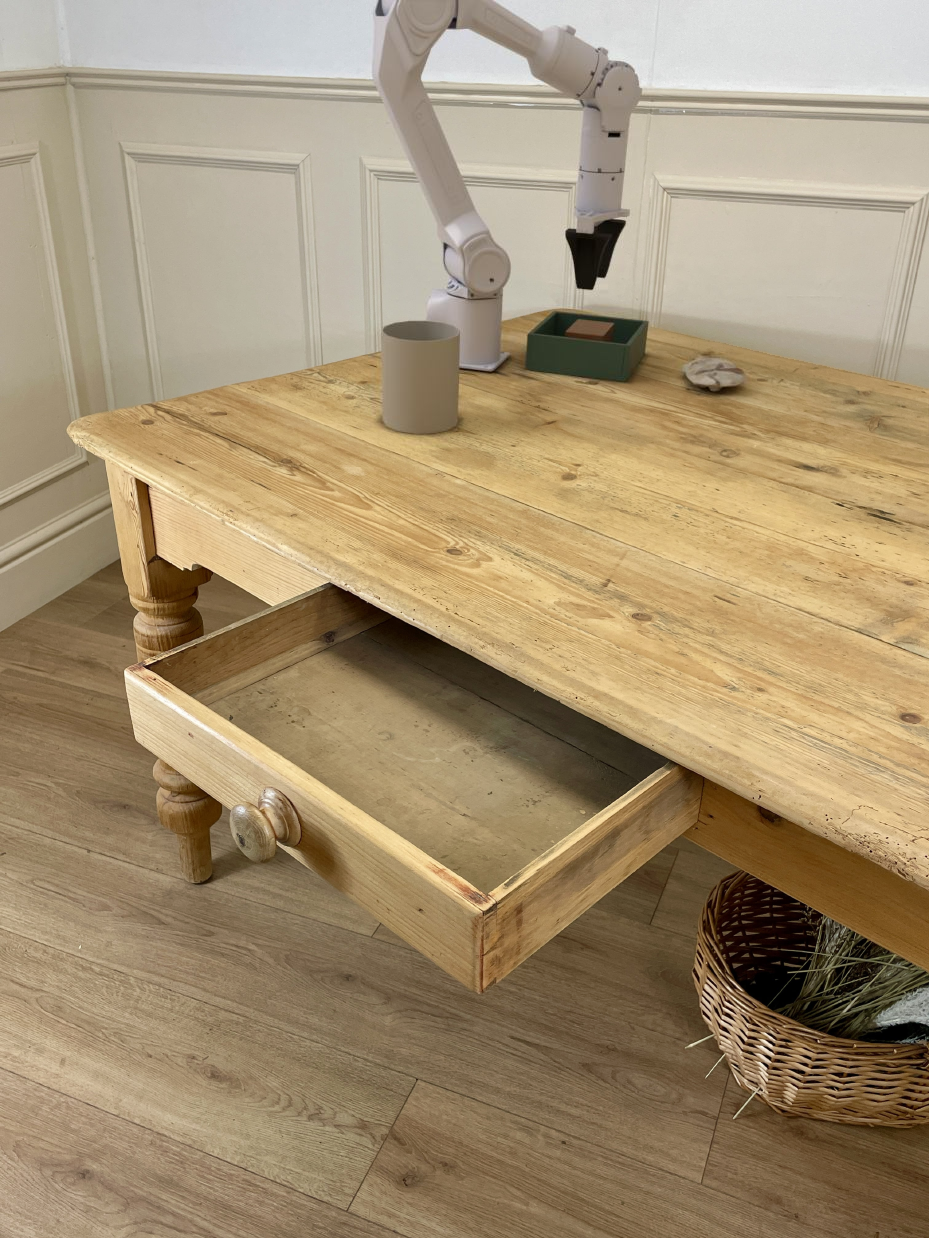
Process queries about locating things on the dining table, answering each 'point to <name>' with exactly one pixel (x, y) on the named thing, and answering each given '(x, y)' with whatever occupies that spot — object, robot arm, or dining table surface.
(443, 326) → the cup
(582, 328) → the block
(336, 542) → the dining table surface
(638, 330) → the bin
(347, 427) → the dining table surface
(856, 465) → the dining table surface
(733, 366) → the stone
